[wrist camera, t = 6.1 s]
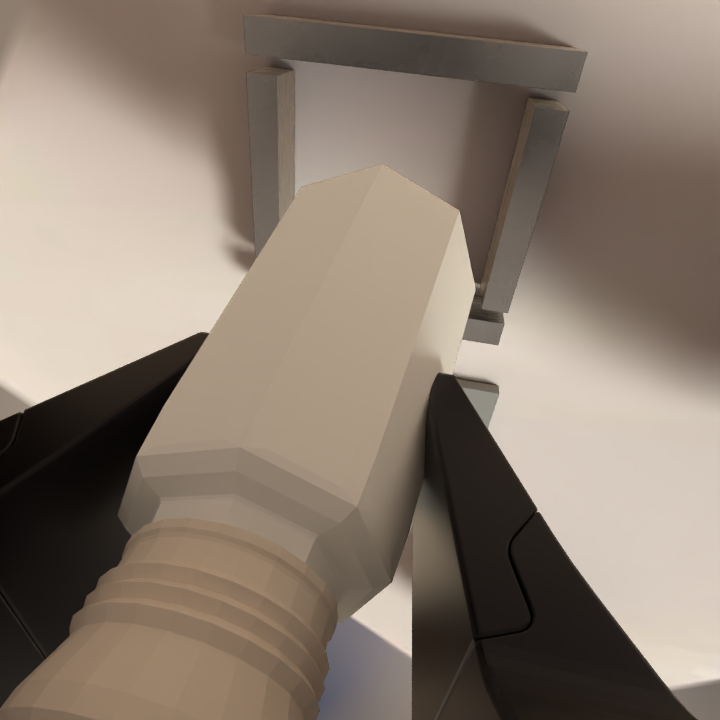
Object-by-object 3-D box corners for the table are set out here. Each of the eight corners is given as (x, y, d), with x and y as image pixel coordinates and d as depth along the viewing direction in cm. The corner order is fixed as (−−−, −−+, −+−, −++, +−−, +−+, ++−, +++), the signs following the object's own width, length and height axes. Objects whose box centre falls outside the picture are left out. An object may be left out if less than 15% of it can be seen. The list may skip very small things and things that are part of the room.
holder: (574, 47, 15) (587, 52, 14) (495, 319, 21) (498, 345, 20) (265, 14, 16) (243, 14, 15) (272, 284, 22) (257, 306, 20)
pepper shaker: (235, 246, 13) (-246, 695, 5) (389, 108, 11) (-71, 568, 2) (360, 381, 15) (188, 889, 6) (519, 293, 12) (600, 971, 4)
